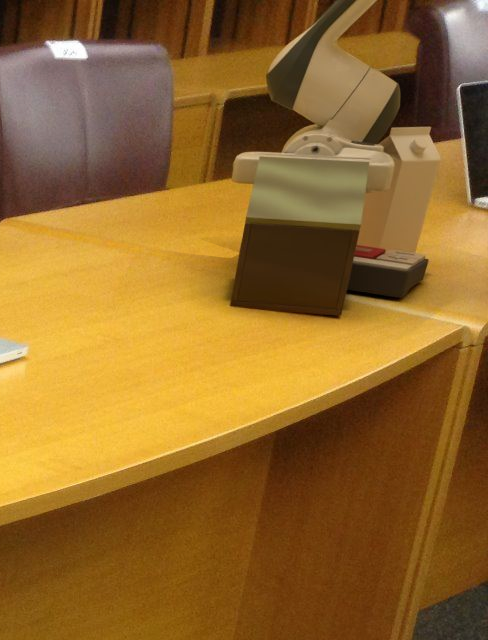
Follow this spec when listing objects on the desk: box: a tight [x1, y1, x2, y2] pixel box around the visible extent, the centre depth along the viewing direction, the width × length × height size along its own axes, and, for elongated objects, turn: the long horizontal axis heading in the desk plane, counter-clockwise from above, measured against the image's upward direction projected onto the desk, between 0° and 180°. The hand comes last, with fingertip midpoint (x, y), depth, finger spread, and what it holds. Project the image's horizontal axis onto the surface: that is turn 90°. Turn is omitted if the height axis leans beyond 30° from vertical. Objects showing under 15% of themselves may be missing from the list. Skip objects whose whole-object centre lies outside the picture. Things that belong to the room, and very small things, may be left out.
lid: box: [244, 156, 369, 230], centre depth 201 cm, size 16×14×1 cm
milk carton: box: [357, 126, 442, 254], centre depth 227 cm, size 7×7×19 cm
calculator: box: [347, 245, 429, 299], centre depth 214 cm, size 11×4×15 cm
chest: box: [229, 221, 360, 317], centre depth 204 cm, size 14×14×11 cm
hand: (310, 178), depth 205 cm, fingers closed, pressing on lid
